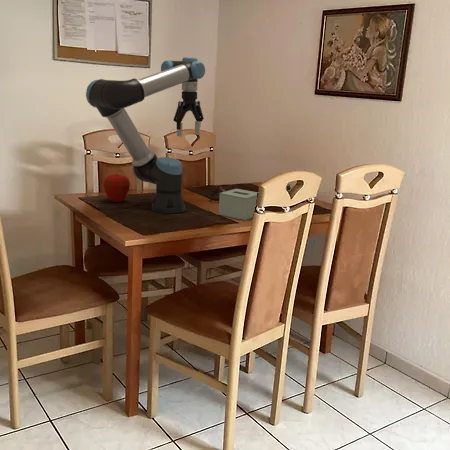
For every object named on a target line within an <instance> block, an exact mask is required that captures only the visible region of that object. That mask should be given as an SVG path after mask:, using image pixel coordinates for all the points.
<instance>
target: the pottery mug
mask: <svg viewBox="0 0 450 450" xmlns="http://www.w3.org/2000/svg"><path fill="white" fill-rule="evenodd" d="M226 191H230V190H229V189H228V188H227V187H222V186H220V187H217V188H215V189H213V190H212V191H211V192H209V194H208V195H209V199H211V201H213V200H214V199H217V196H220V193H222V192H226Z"/></svg>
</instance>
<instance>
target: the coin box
mask: <svg viewBox="0 0 450 450" xmlns="http://www.w3.org/2000/svg"><path fill="white" fill-rule="evenodd" d="M257 193H259V192H257V191H252V190H251V191H250V190H246V189H240V188H234V189H230V190H229V191H226V192H222V193H220V195H219V196H218V197H219V200H218V202H219V203H218V215H219V216H224V217H229V218H234V219H237V220H243V221H247V220H250V219H252V218H254V217H253V214H254V211H255V207H256V199H257Z"/></svg>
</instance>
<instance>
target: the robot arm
mask: <svg viewBox="0 0 450 450" xmlns="http://www.w3.org/2000/svg"><path fill="white" fill-rule="evenodd" d="M205 66H206V65H204V63H203V62H201V61H199V60H198V58H197V57H188V56H187V57H185V56H184V57H182V59H181V60H164V61H163V62H162V63H161V65H160V71H159V72H156V73H153V74H150V75H148V76H144V77H142V78H139V79H137V78H132V79H126V80H113V79H103V78H100V79H95V80H92V81H91V82H90V83H89V84H88V85H87V87H86V91H85V97H86V101H87V103H88V104H89V105H90V106H92V108H96V109H97V112H99V113H100V115H101V117H103V118H106V119H107V120H108V121H109V124H110V125H111V126H112V128H113V129H114V131H115V133H116V134H117V136H118V139H120V141H121V142H122V144H123V145H124V147H125V150H126V151H127V152H128V153H129V155H130V157H131V165H132V173H133V175H134V176H135V178H137V179H139V180H140V181H141V182H144V183H149V184H153V185H155V195H154V198H153V202H152V204H151V210H152V211H154V212H156V213H159V214H179V213H182V212H185V210H186V205H185V202H184V197H183V194H182V192H183V191H182V189H183V188H182V185H183V163H182V162H181V161H180V160H179V159H177V158H175V157H174V158H172V157H167V156H163V157H162V156H161V157H158V156H157V154H156V153H155V151H154V150H152V149H149V147H148V145H147V144H146V141H144V138H143V137H142V136H141V134H140V132H139V131H138V128H137V127H136V125H135V124H134V122H133V120H132V119H131V117H130V115H129V113H128V112H127V110H126V108H129V107H131V106H133V105H136V104H138V103H140V102H143V101H145V98H147V97H150V96H152V95H154V94H158V93H159V92H162V91H165V90H167V89H170V88H173V87H175V86H177V85H181V90H182V91H181V99H182V101H179V100H178V102H177V107H176V111H175V115H174V117H173V122H174V123H176V137H183V122H182V121H183V120H184V117H185V116H186V114H187V113H188V112H192V115H193V117H194V119H195V121H194V135H197V136H199V135H200V133H201V123H202V122H203V120H204V119H205V118H204V114H203V111H202V108H201V102H200V101H199V100H198V80H200V79H202V78H203V77H204V76H205V75H206V67H205ZM200 136H201V135H200Z"/></svg>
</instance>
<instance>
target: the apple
mask: <svg viewBox="0 0 450 450" xmlns="http://www.w3.org/2000/svg"><path fill="white" fill-rule="evenodd" d="M130 186H131V182H130V180H129V178H128V177H127V176H125V175H123V174H122V175H121V174H118V173H117V172H115V174H110V175H109V174H108V175H107V176H106V177H105V178H104V180H103V189H104V192H105V194H106V197H107V199H109V200H110V201H111V202H114V203H122V202H123V201H124V200H125V199H126V197H127V195H128V194H129V191H130Z"/></svg>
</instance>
